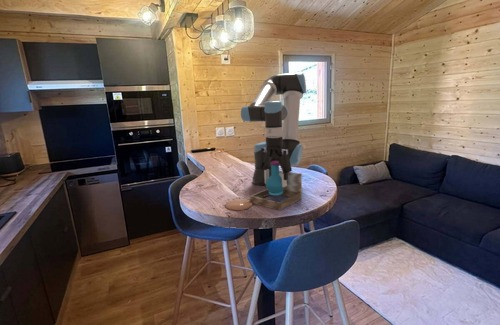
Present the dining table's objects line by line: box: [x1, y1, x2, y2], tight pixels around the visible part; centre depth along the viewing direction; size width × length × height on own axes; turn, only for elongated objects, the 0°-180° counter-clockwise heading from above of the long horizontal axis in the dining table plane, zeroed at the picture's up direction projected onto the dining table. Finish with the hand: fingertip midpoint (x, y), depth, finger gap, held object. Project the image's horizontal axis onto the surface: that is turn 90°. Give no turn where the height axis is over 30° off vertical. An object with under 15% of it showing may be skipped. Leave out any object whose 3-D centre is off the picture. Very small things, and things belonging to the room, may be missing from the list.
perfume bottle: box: [265, 161, 285, 196], centre depth 125 cm, size 9×9×15 cm
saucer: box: [225, 198, 253, 212], centre depth 123 cm, size 12×12×1 cm
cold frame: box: [249, 169, 303, 211], centre depth 126 cm, size 17×18×12 cm
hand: (275, 184), depth 126 cm, fingers closed on perfume bottle, 9 cm apart
